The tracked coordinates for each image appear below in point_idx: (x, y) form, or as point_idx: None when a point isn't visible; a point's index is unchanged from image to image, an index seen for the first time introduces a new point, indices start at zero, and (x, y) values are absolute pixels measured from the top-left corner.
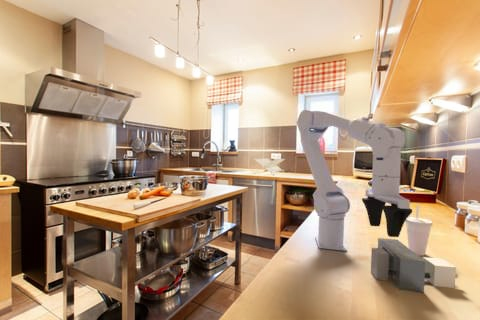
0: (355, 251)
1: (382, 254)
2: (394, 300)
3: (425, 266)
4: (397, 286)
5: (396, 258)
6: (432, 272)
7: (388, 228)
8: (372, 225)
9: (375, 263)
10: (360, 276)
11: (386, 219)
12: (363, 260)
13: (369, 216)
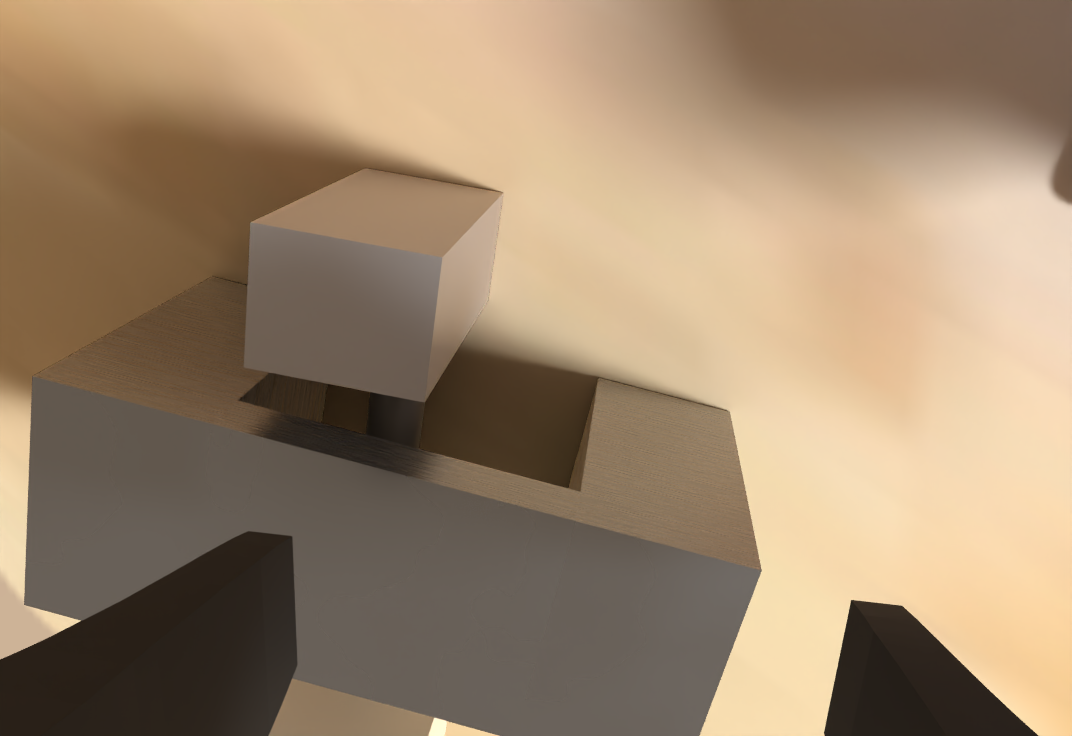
0: (1064, 327)
1: (251, 281)
2: (33, 109)
3: (391, 707)
4: (242, 285)
5: (158, 386)
6: (294, 680)
7: (159, 584)
8: (854, 624)
9: (354, 199)
10: (408, 13)
11: (80, 683)
12: (791, 280)
13: (941, 707)
